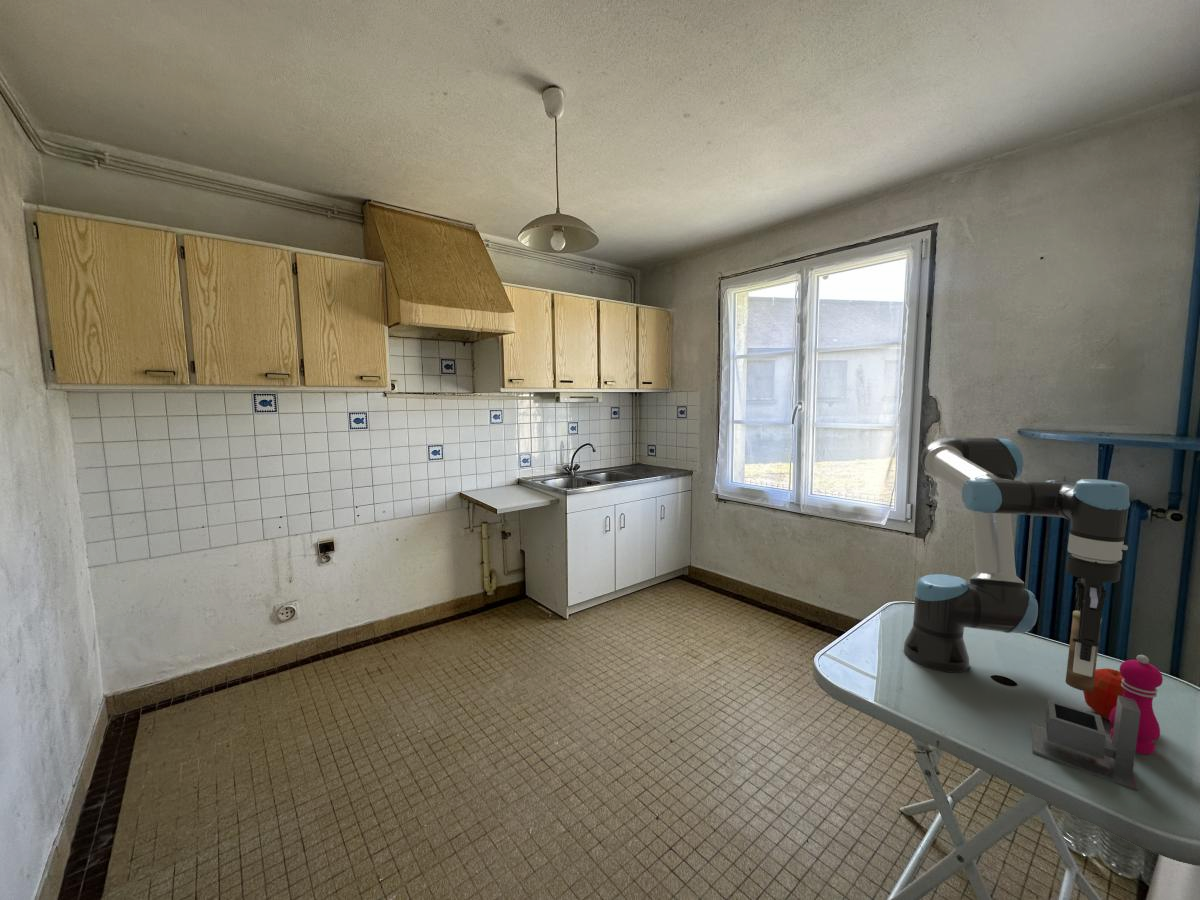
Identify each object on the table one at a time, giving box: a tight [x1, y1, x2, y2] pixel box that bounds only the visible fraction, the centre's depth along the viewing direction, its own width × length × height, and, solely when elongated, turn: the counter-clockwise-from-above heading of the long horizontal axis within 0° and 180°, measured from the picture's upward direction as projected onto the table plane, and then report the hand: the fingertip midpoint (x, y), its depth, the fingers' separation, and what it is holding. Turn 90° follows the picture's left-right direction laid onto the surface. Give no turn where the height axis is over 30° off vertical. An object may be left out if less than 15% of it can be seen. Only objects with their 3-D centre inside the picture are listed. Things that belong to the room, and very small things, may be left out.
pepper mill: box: [1108, 654, 1164, 755], centre depth 101 cm, size 7×7×20 cm
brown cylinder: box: [1065, 610, 1103, 692], centre depth 97 cm, size 4×4×15 cm
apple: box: [1082, 668, 1124, 721], centre depth 110 cm, size 10×10×12 cm
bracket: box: [1031, 695, 1141, 791], centre depth 98 cm, size 14×11×14 cm
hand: (1081, 668), depth 97 cm, fingers closed on brown cylinder, 4 cm apart
